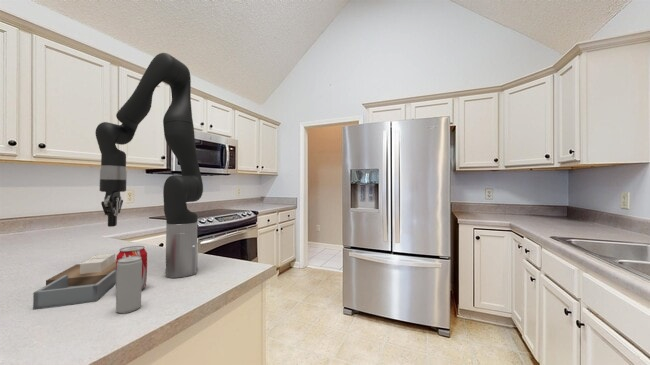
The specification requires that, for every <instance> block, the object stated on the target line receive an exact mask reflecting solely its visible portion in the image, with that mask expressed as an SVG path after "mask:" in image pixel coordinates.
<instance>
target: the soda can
mask: <svg viewBox="0 0 650 365" xmlns="http://www.w3.org/2000/svg"><path fill="white" fill-rule="evenodd" d="M118 251H119V252H118V253H117V255H116V256H115V261H116V280H117V263H118V260H119V259H122V258H126V257H135V256H138V257H141V260H142V288H141V291H142V290H143V289H144V288H146V287H147V279H148V252H147V251H146V249H145V246H144V245H132V246H125V247H121V248H120V249H119V250H118Z"/></svg>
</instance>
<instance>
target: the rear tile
mask: <svg viewBox="0 0 650 365" xmlns="http://www.w3.org/2000/svg"><path fill="white" fill-rule="evenodd" d="M102 258H108V266H110V265H112V264H113V263H114V262H115V261H116V253H106V254H97V255H94V256H92V257H91V258H89V259H102Z"/></svg>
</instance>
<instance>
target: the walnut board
mask: <svg viewBox="0 0 650 365" xmlns="http://www.w3.org/2000/svg"><path fill="white" fill-rule="evenodd" d="M80 264H81V263H80ZM80 264H79V263H78V264H75V265H73V266H70V267H69V268H66V269H65V270H63V271H61V272H59V273H58V274H56V275H54V276H52V277H49V278H48V279H46V280H45V286H46V285H48V284H50V283H52V282H53V281H55V280H57V279H59V278H61V277H62V276H64V275H68V287H71V286H80V285H89V284H96V283H98V282H99V281H100V280H102V279H103V278H104V277H106V276H107V275H108V274H109V273H111V272H112V271H114V270H116V260H115V262H114V263H113V264H112V265H110V266H108V267H107V268H106V269H104V270H103V271H102V272H96V273H85V274H80Z"/></svg>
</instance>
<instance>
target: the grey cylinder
mask: <svg viewBox="0 0 650 365" xmlns="http://www.w3.org/2000/svg"><path fill="white" fill-rule="evenodd" d="M141 288H142V260H141V257H138V256H135V257H126V258H122V259H119V260H118V263H117V280H116V284H115V290H116V291H115V292H116V293H115V311H116V312H117V313H118V314H128V313H131V312H132V313H133V312H134V311H137V310H138V309H139V308H140V307H141V306H142V290H141Z"/></svg>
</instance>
